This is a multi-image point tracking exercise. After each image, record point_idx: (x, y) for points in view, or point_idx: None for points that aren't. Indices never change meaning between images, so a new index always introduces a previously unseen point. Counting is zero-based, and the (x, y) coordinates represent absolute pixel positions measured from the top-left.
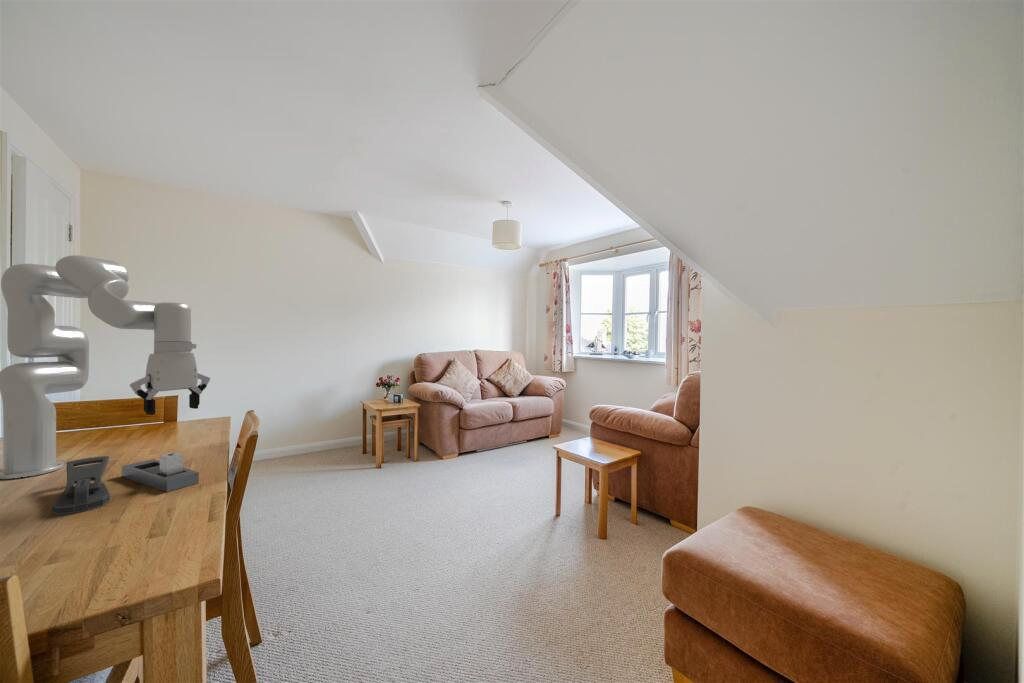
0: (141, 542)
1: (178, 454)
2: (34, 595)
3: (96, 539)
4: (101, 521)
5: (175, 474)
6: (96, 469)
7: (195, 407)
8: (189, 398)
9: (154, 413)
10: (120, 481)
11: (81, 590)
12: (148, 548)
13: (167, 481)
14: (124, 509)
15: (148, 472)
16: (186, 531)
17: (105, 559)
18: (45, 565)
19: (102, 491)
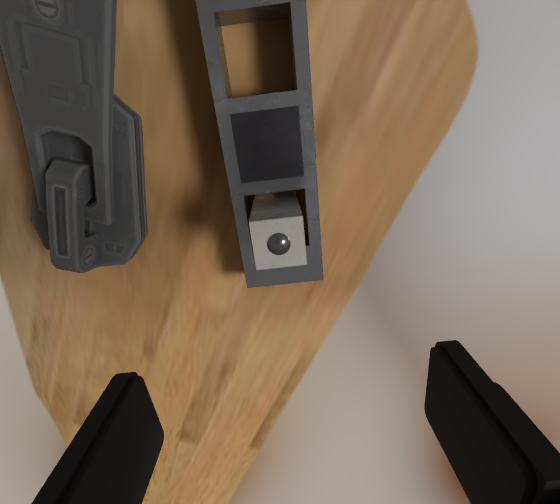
0: (170, 443)
1: (293, 262)
2: None
3: None
4: (130, 335)
5: None
6: (84, 69)
7: (429, 420)
8: (487, 426)
9: (158, 443)
10: (185, 43)
11: None
12: (173, 461)
13: (247, 287)
14: (166, 307)
15: (234, 159)
16: (219, 451)
17: None
18: (75, 424)
19: (124, 213)
